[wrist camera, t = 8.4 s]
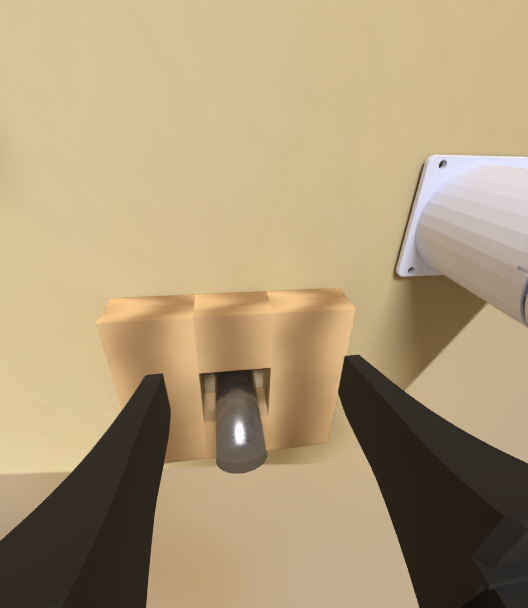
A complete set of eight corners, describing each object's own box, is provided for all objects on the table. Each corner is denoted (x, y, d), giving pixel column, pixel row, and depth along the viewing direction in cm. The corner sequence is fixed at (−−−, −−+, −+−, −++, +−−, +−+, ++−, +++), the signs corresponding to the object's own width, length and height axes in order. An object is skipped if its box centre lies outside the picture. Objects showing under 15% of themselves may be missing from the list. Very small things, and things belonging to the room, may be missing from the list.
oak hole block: (339, 288, 22) (356, 308, 20) (317, 415, 29) (327, 443, 27) (110, 298, 20) (96, 323, 17) (146, 434, 27) (139, 466, 24)
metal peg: (248, 349, 24) (264, 437, 17) (253, 376, 25) (269, 467, 19) (211, 356, 24) (211, 448, 17) (218, 383, 25) (221, 477, 18)
